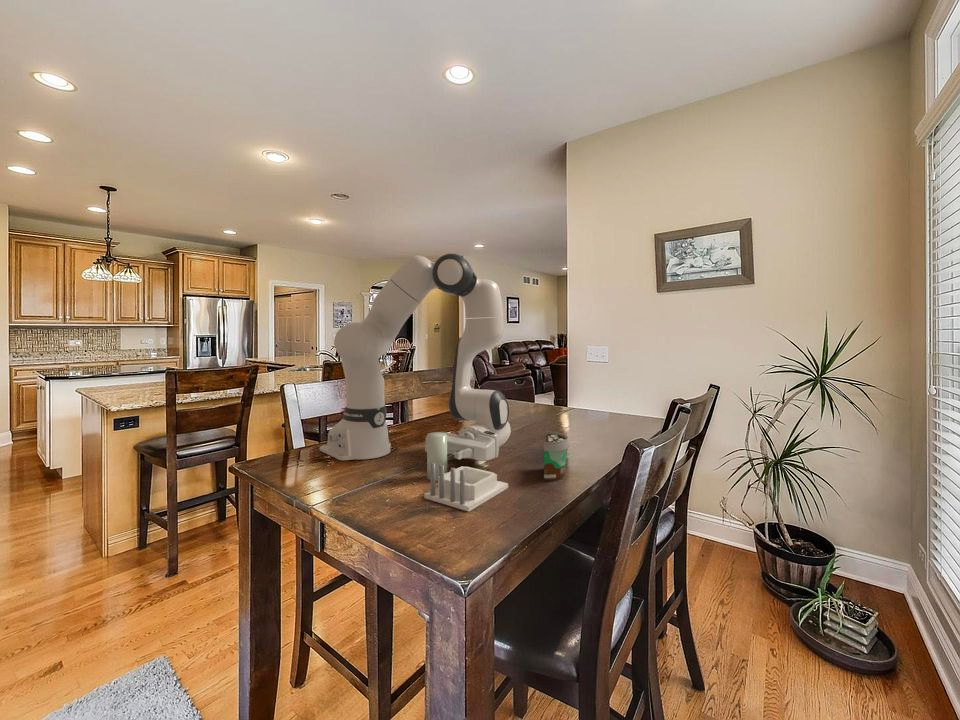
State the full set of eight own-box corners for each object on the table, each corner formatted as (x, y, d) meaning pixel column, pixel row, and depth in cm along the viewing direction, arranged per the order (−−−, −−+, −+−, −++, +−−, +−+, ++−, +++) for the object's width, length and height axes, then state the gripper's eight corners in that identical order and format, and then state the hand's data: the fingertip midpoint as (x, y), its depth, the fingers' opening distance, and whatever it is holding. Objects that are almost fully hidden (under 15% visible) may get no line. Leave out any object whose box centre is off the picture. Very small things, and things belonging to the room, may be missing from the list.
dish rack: (424, 498, 91) (424, 462, 91) (467, 477, 105) (467, 446, 104) (468, 511, 85) (469, 473, 84) (508, 487, 98) (508, 454, 97)
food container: (569, 485, 100) (570, 444, 99) (543, 483, 101) (544, 442, 101) (568, 468, 112) (569, 432, 111) (545, 466, 113) (546, 430, 113)
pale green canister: (422, 478, 104) (422, 435, 103) (435, 473, 108) (435, 431, 107) (438, 482, 101) (438, 438, 100) (451, 476, 105) (451, 434, 104)
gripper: (443, 425, 122) (411, 434, 111) (503, 435, 111) (474, 446, 100) (443, 446, 123) (411, 457, 111) (503, 458, 111) (473, 472, 100)
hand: (441, 452), depth 105 cm, fingers open, 8 cm apart
